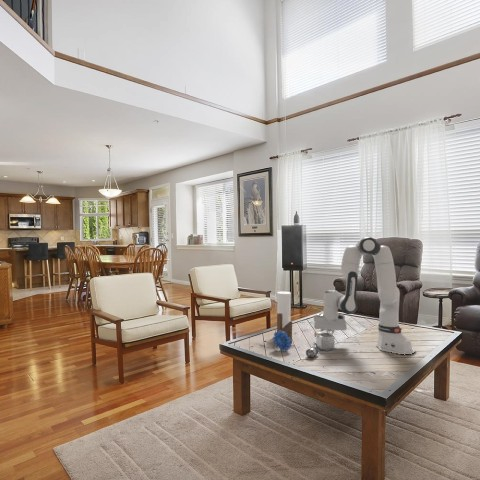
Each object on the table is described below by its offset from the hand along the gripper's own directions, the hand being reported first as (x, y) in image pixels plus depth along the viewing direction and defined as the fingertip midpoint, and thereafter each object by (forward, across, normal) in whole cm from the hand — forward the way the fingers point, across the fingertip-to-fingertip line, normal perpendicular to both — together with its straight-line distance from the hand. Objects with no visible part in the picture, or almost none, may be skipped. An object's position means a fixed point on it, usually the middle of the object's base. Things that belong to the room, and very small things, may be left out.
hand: (330, 336), depth 226 cm
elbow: (+4, -5, -4) cm, 8 cm away
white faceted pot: (+5, -4, -9) cm, 11 cm away
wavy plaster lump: (+5, +4, +46) cm, 46 cm away
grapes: (+5, -31, -18) cm, 36 cm away
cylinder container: (+5, -30, +18) cm, 35 cm away
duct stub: (+5, -13, -25) cm, 29 cm away
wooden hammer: (+5, -30, +1) cm, 30 cm away
